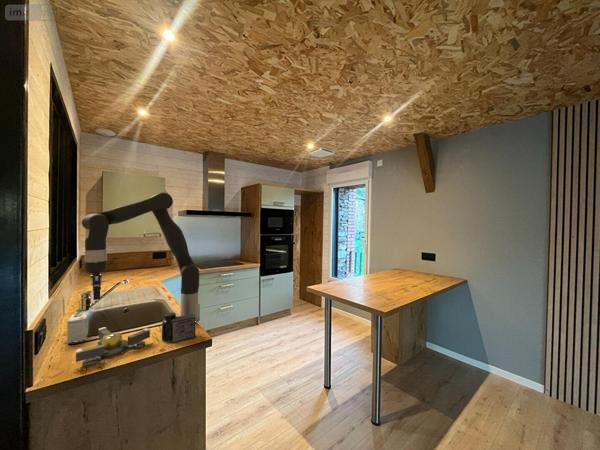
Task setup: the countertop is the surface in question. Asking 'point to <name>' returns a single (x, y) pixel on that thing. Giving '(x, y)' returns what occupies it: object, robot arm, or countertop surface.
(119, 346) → the tribrach
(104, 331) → the knob side
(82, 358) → the knob
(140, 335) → the knob
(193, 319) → the small box
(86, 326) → the light bulb box
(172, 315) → the supplement bottle
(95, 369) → the countertop surface
